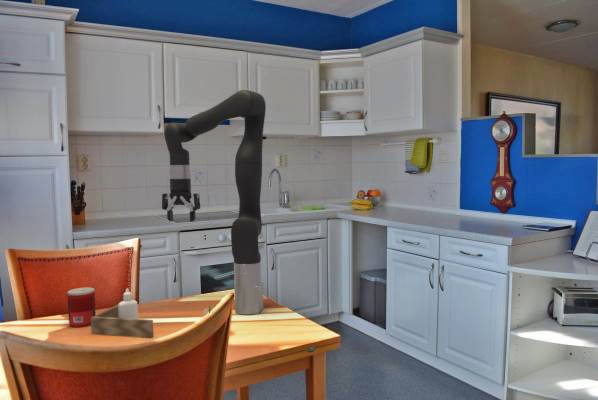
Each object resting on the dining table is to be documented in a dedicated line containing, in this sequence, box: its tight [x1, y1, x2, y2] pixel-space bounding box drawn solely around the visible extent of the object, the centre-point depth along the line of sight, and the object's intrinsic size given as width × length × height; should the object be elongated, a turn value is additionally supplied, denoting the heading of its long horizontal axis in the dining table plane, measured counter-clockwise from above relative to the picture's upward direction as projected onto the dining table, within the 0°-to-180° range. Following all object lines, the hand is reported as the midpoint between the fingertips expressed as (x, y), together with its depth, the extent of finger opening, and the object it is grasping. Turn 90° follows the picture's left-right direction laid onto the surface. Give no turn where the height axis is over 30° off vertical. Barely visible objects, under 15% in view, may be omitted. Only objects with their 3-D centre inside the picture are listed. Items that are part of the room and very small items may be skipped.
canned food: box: [67, 286, 97, 328], centre depth 155 cm, size 8×8×11 cm
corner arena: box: [90, 304, 154, 339], centre depth 152 cm, size 20×18×5 cm
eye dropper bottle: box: [117, 288, 139, 319], centre depth 151 cm, size 4×6×12 cm
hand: (181, 221), depth 178 cm, fingers open, 8 cm apart
